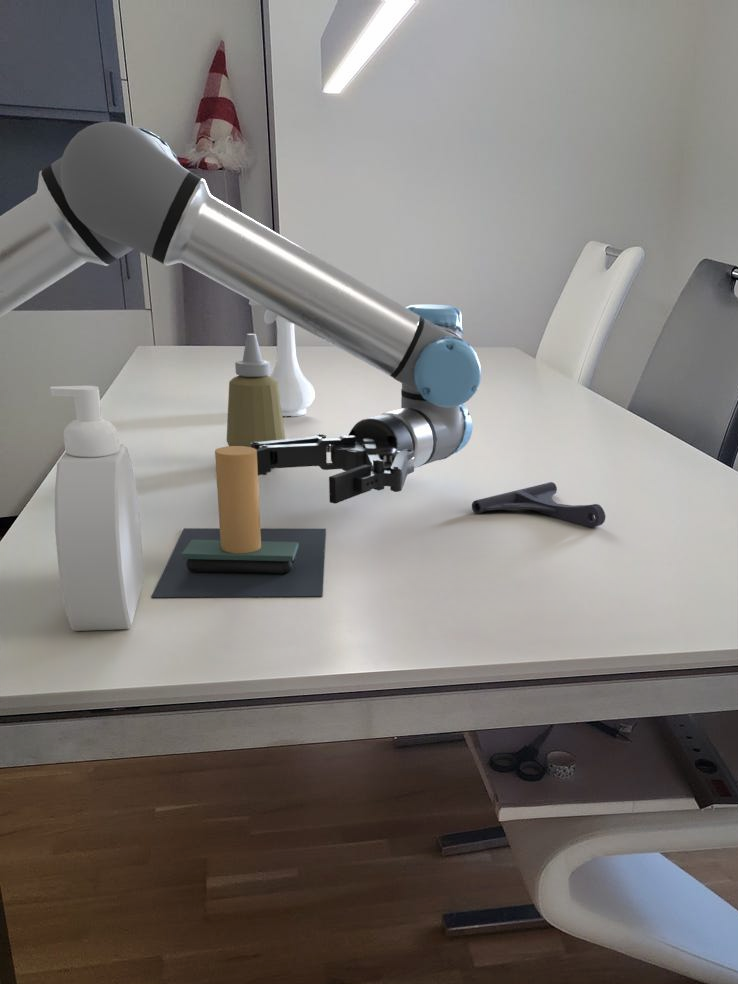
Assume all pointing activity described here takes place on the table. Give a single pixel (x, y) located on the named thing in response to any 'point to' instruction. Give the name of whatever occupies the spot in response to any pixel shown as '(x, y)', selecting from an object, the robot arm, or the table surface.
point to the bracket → (542, 505)
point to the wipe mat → (223, 585)
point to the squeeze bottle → (253, 400)
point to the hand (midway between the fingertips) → (279, 480)
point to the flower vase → (289, 369)
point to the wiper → (239, 523)
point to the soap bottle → (96, 520)
